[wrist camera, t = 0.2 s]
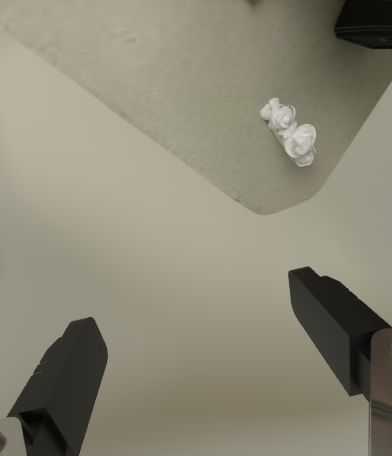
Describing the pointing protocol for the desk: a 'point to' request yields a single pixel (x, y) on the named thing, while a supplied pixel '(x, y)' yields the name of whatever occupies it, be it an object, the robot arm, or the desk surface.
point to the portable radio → (366, 23)
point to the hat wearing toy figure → (290, 131)
